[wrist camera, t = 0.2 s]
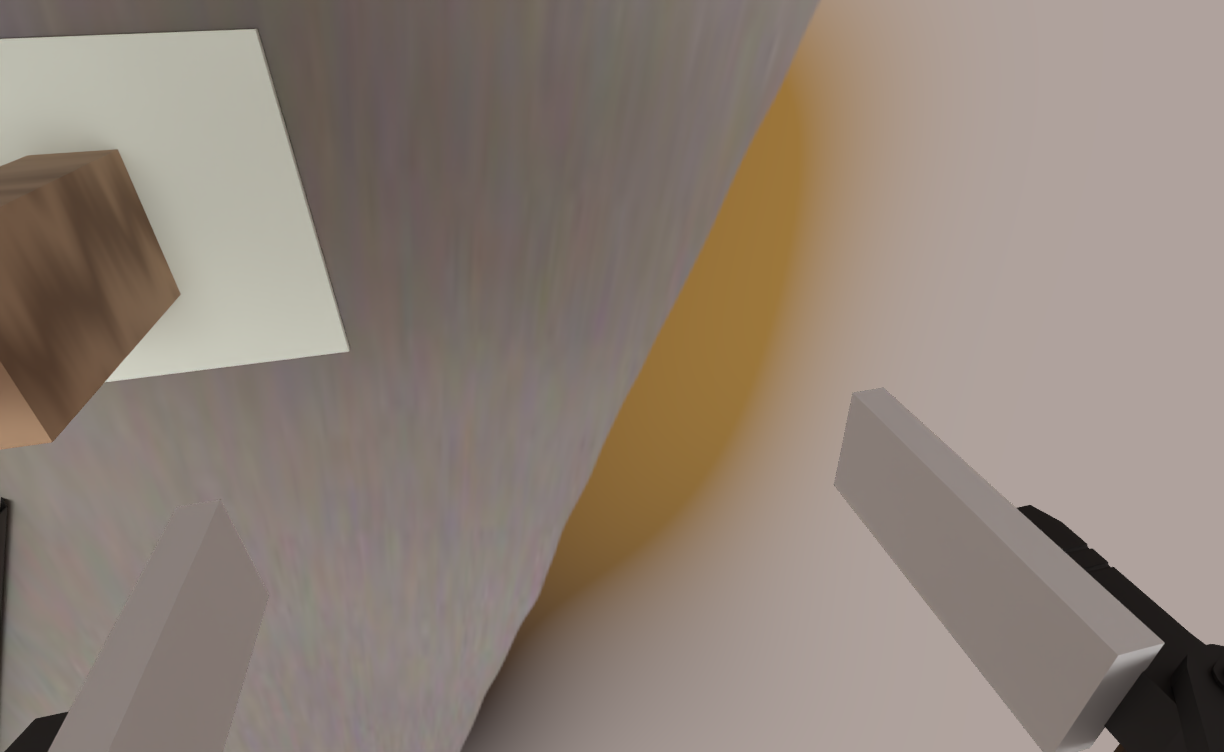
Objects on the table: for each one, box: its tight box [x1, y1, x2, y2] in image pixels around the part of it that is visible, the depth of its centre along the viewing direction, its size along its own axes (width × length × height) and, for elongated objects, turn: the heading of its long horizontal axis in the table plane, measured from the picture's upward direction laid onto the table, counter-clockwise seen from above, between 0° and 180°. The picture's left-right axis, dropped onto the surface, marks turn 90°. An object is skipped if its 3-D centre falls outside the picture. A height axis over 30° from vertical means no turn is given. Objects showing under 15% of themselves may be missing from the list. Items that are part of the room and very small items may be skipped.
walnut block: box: [0, 149, 181, 449], centre depth 27 cm, size 8×4×14 cm, turn 2°
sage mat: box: [0, 29, 350, 382], centre depth 32 cm, size 18×30×1 cm, turn 92°
